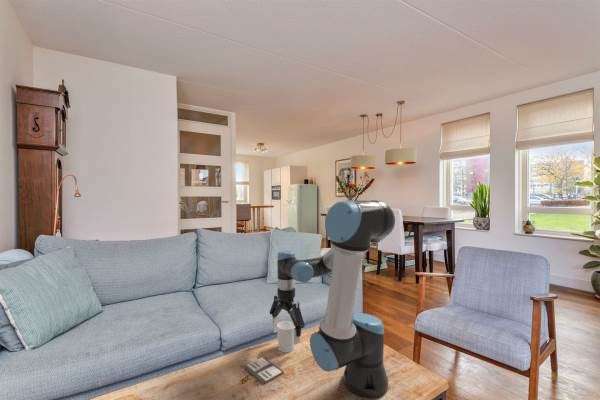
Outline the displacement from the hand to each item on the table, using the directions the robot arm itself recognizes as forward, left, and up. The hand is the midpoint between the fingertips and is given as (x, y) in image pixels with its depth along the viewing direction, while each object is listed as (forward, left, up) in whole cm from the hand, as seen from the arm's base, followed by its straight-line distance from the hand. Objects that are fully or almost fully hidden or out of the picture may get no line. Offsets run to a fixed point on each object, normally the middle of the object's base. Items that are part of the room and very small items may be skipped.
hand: (286, 337), depth 121 cm
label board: (-7, +16, -4) cm, 18 cm away
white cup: (0, 0, -5) cm, 5 cm away
